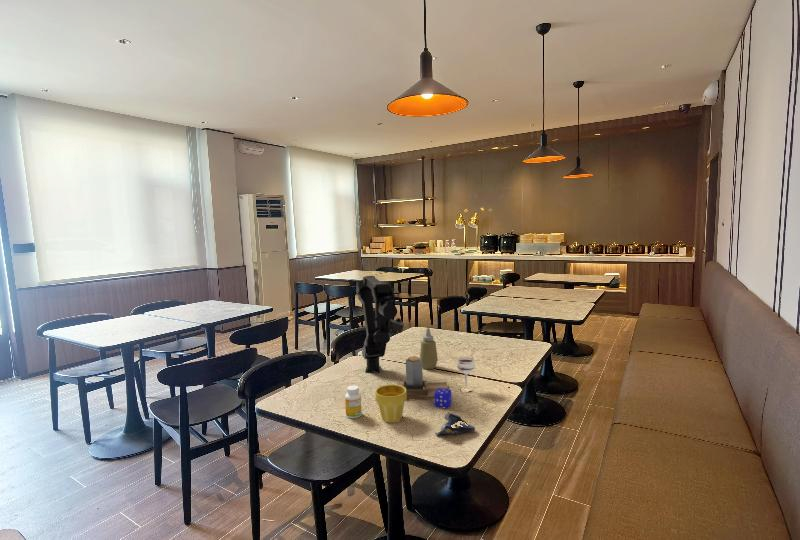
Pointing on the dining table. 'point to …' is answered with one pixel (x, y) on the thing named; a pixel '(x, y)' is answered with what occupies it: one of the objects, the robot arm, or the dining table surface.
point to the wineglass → (466, 366)
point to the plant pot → (391, 402)
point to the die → (442, 398)
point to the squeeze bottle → (428, 351)
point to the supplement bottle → (353, 402)
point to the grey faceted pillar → (414, 373)
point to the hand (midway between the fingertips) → (383, 352)
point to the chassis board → (424, 390)
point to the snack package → (452, 420)
